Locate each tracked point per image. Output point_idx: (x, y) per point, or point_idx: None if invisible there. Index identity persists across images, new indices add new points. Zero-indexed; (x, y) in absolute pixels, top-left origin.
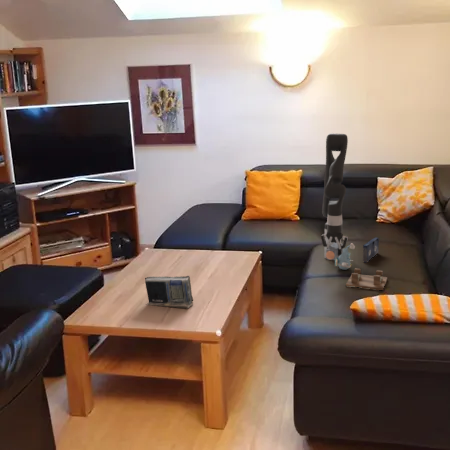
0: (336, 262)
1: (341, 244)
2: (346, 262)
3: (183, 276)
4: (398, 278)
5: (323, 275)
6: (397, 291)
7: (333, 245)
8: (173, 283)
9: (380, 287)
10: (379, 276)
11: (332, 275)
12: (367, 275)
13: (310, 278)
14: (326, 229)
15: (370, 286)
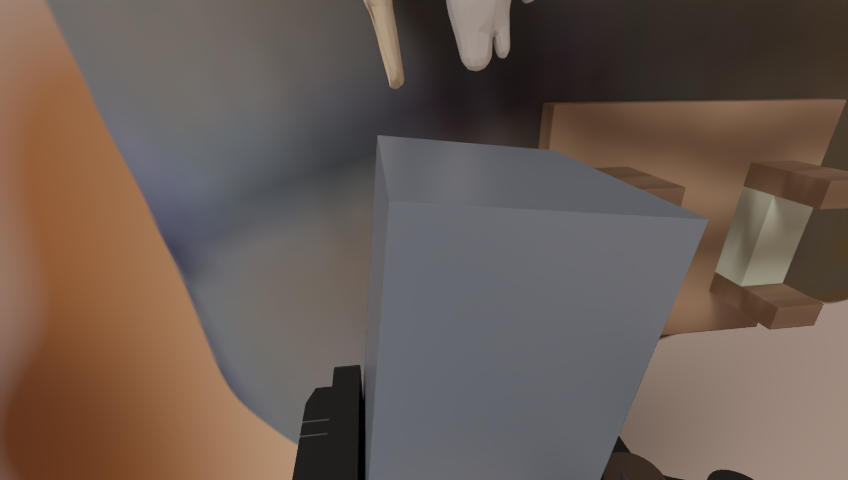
0: (397, 81)
1: (656, 319)
2: None
3: None
4: None
5: (282, 157)
6: (822, 291)
7: (430, 468)
8: None
9: (744, 322)
10: (811, 324)
11: (363, 129)
12: (689, 105)
13: (205, 268)
14: None
15: (684, 329)
